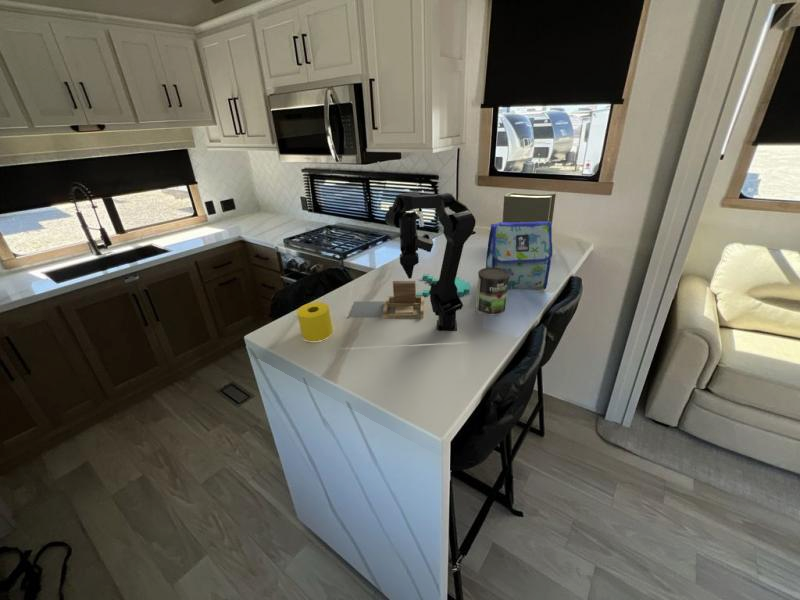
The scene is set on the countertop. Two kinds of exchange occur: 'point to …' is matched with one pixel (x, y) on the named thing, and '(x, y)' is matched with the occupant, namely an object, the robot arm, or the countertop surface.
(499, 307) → the coffee can
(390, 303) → the rack
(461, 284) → the alien figure
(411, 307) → the offcut upper
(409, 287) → the wooden block
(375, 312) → the mat
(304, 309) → the yellow paper roll
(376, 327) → the countertop surface
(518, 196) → the book
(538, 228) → the lunch bag
